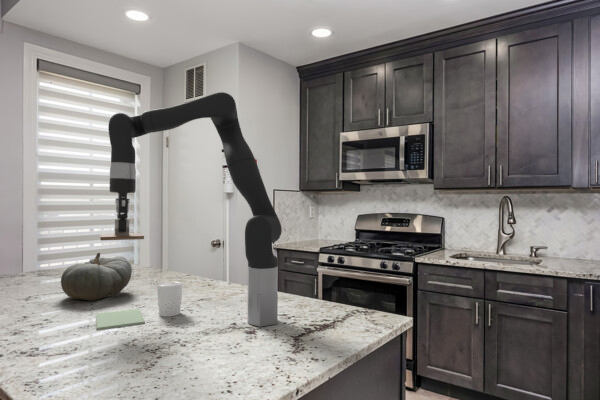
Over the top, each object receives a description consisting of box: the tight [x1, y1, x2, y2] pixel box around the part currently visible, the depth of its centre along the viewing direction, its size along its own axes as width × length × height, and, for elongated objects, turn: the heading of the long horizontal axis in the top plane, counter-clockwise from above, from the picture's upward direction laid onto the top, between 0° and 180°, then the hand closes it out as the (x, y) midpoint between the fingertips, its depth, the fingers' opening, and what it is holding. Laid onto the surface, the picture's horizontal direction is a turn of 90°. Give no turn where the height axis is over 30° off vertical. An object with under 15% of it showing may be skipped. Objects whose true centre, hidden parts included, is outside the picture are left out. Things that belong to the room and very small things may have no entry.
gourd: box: [60, 252, 133, 302], centre depth 149 cm, size 25×25×17 cm
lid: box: [99, 218, 145, 241], centre depth 121 cm, size 12×12×6 cm
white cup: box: [156, 281, 183, 318], centre depth 126 cm, size 8×8×10 cm
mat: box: [95, 308, 146, 331], centre depth 120 cm, size 16×13×1 cm
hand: (121, 231), depth 121 cm, fingers closed on lid, 4 cm apart
